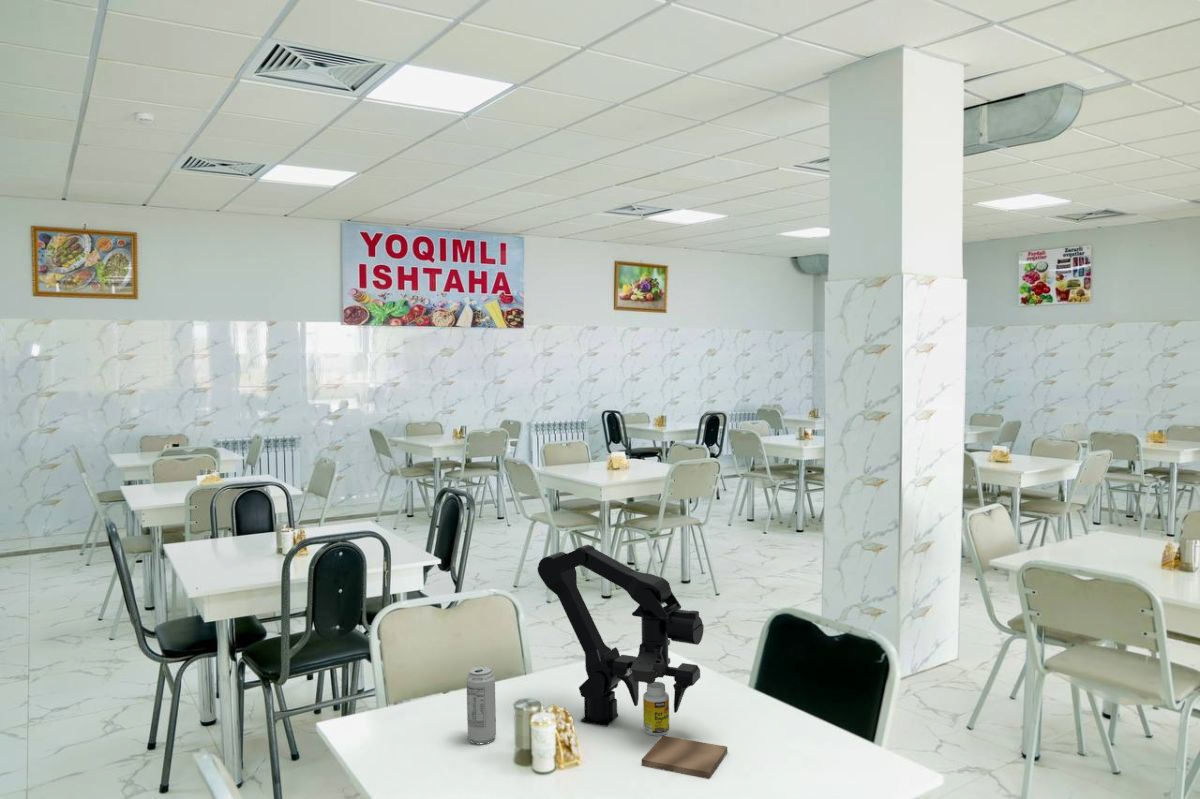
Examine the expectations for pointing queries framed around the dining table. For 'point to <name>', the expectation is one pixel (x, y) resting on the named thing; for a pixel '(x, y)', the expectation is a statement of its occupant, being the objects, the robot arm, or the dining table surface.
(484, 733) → the energy drink can
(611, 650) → the robot arm
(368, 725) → the dining table surface
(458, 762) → the dining table surface
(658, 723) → the supplement bottle
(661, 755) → the walnut board
